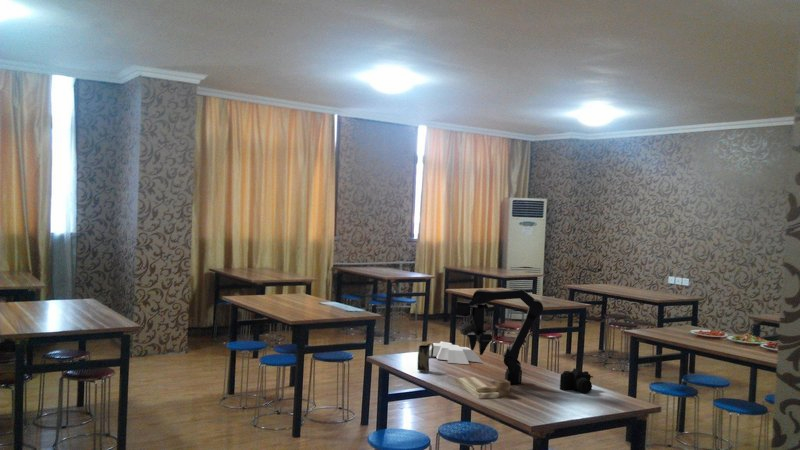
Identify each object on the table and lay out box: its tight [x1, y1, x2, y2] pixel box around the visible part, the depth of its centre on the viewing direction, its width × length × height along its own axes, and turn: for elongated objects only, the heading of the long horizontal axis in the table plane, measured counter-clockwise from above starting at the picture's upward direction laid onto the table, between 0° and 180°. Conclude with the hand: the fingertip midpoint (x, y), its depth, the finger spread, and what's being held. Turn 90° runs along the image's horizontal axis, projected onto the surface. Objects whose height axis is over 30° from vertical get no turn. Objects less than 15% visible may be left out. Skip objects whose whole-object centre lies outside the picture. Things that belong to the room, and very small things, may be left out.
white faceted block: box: [429, 340, 484, 365], centre depth 329 cm, size 35×20×6 cm, turn 41°
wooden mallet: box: [476, 379, 511, 398], centre depth 260 cm, size 14×4×6 cm, turn 108°
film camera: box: [559, 367, 594, 394], centre depth 274 cm, size 15×10×9 cm, turn 106°
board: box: [454, 376, 500, 400], centre depth 268 cm, size 9×24×2 cm, turn 18°
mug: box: [417, 343, 434, 372], centre depth 298 cm, size 8×6×12 cm
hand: (476, 352), depth 285 cm, fingers open, 9 cm apart
